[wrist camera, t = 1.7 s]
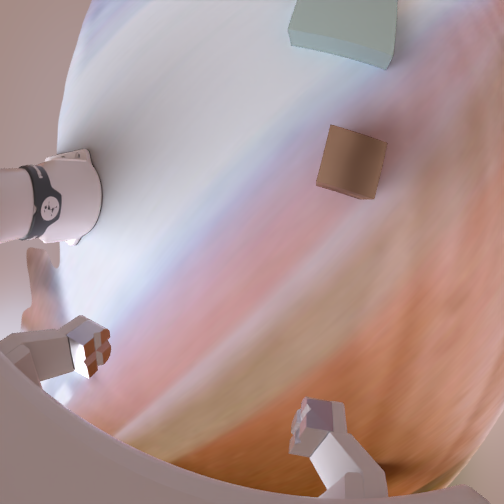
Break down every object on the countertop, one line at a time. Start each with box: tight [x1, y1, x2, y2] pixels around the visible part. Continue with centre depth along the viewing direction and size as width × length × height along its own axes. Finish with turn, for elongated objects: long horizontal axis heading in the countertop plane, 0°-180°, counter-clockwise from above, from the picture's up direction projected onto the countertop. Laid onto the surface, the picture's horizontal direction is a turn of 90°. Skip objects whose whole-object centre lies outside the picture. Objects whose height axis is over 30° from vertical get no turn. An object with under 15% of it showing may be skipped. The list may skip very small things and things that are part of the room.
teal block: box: [288, 0, 398, 70], centre depth 26 cm, size 14×14×5 cm
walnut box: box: [316, 125, 387, 199], centre depth 29 cm, size 6×6×9 cm
